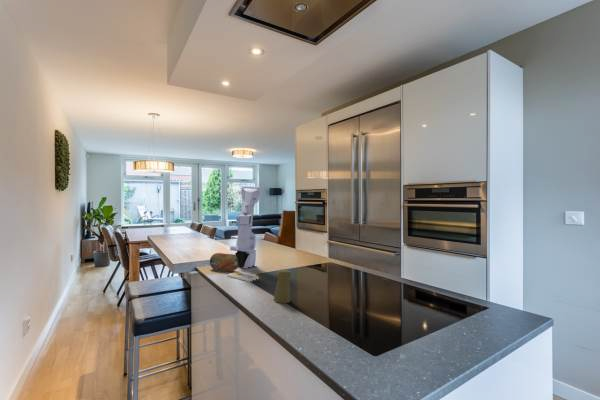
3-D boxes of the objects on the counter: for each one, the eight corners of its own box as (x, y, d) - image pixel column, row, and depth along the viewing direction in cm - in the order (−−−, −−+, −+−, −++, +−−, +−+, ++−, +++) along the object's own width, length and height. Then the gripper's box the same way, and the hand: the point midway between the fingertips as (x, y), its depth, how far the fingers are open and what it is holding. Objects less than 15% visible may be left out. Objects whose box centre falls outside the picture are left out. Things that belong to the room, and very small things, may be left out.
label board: (236, 274, 143) (237, 271, 143) (258, 279, 136) (258, 276, 136) (227, 276, 137) (227, 273, 137) (249, 281, 131) (249, 278, 131)
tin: (208, 269, 149) (210, 252, 149) (211, 268, 152) (213, 251, 152) (237, 272, 146) (238, 255, 146) (239, 271, 149) (241, 254, 149)
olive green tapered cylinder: (291, 298, 111) (293, 269, 111) (289, 304, 105) (291, 272, 105) (275, 297, 112) (277, 267, 112) (272, 302, 106) (274, 271, 106)
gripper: (226, 237, 145) (224, 265, 145) (249, 241, 138) (247, 270, 138) (236, 237, 151) (234, 264, 151) (259, 240, 144) (257, 268, 144)
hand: (241, 267), depth 145 cm, fingers closed
